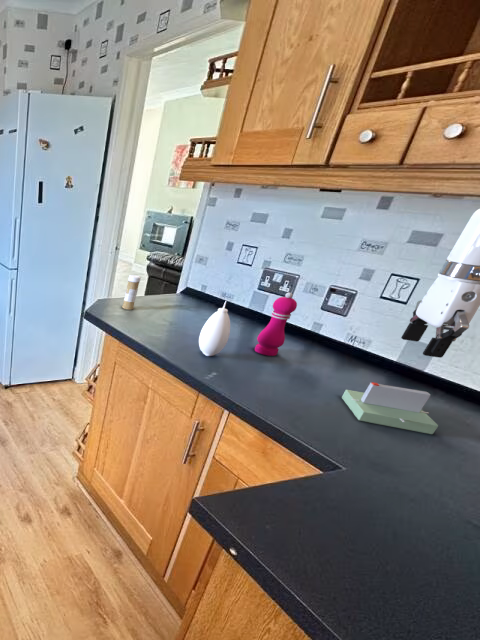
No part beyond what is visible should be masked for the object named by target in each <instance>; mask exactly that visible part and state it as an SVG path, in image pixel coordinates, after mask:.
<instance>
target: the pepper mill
mask: <svg viewBox="0 0 480 640" xmlns="http://www.w3.org/2000/svg"><path fill="white" fill-rule="evenodd" d="M292 297H293V293H292V292H290V291H288V292H286V293H285V294H284V296H279V297H278V298H276V299H275V300H274V301H273V303H272V308H273V310H272V311H271V314H270V316H271V318H270V321H269V322H268V323H267V325H266V326H265V327H264V328H263V329H262V330H261V331H260V332H259V334H258V335H257V337H256V338H257V339H256V340H257V344H256V345H255V347H254V351H255V352H256V353H258V354H260V355H262V356H266V357H267V356H268V357H274V356H277V355H278V353H279V350H280V349H279V348H280V347H282V346H284V344H285V341H286V334H285V326H286V324H287V322H288V320H290V319H291V316H292V313H294V312H295V311H296V309H297V306H298V302H297V301H296V300H295V298H292Z"/></svg>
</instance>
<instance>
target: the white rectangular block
mask: <svg viewBox="0 0 480 640" xmlns="http://www.w3.org/2000/svg"><path fill="white" fill-rule="evenodd" d="M363 393H364V395H363V397H362V398H361V401H362V402H363V403H368V404H373V405H379V406H384V407H390V408H396V409H401V410H407V411H412V412H418V413H419V412H420V411H421V409H422V410H423V408H424V406H425V405H426V403H427V401H428V400H429V399H430V398H431V396H432V394H430V393H429V392H427V391H425V390H418V389H413V388H412V389H411V388H406V387H401V386H394V385H388V384H381V383H378V382H375V381H372V382H369V384H368V385H367V388H366V390H365V391H364V392H363Z"/></svg>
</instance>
